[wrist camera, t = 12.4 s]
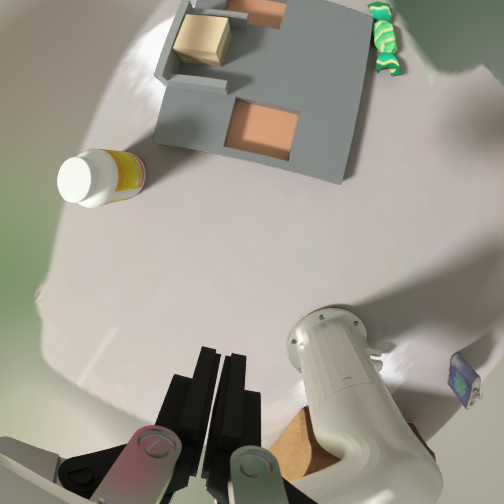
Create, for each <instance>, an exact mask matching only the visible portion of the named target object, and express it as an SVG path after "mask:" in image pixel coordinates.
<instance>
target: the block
mask: <svg viewBox="0 0 504 504" xmlns="http://www.w3.org/2000/svg"><path fill="white" fill-rule="evenodd" d="M230 39H231V31H230V26H229V21H228V18H224V17H215V16H204V15H190V14H186V16H185V19H184V21H183V24H182V26H181V29H180V31H179V34H178V36H177V39H176V42H175V44H174V47H173V49H174V50H175V51H176V53H177V54H178V56H179V57H180V58H181V60H182V61H183V63H192V64H200V65H208V66H215V67H221V66H222V63H223V60H224V57H225V54H226V51H227V48H228V45H229V42H230Z"/></svg>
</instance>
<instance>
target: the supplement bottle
mask: <svg viewBox="0 0 504 504" xmlns="http://www.w3.org/2000/svg"><path fill="white" fill-rule="evenodd" d="M145 177H146V172H145V167H144V164H143V162H142V161H141V159H140V158H139V157H138V156H136V155H135V154H133V153H130V152H124V151H114V150H104V149H89V150H86V151H84V152H82V153H81V154H79V155H78V156H77V157H72V158H69V159H68V160H66V162H64V163H63V165H62V166H61V168H60V170H59V173H58V179H57V181H58V189H59V191H60V194H61V195H62V197H63V198H64V199H65V200H67V201H68V202H72V203H76V202H77V203H79V204H80V205H82V206H84V207H88V208H94V207H99V206H102V205H106V204H110V203H114V202H118V201H122V200H127V199H130V198H132V197H134V196H135V195H137V194H138V193H139V192H140V190H141V189H142V187H143V185H144V182H145Z"/></svg>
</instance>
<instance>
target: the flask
mask: <svg viewBox="0 0 504 504" xmlns="http://www.w3.org/2000/svg"><path fill="white" fill-rule="evenodd" d="M449 372H450V374H449V379H448V383H447V384H448V385H449V386H450V387H451V389H452V390H453V391H454V393H455V394H456V396H457V397H458V398H459V400H460V401H461V403H462V404H463V406H464V407H465V408H466V409H470V408H471V407H473V405H474V404H475V401H476V400H477V401H479V399H480V397H481V399H482V397H483V396H480V394H479V390H480V382H481V380H480V379H481V378H480V376H479V375H478V374H477V373H476V372H475V371H474V370H473V369H472V367H471V366H470V365H469V364H468V363H467V362H466V361H465V360H464V359H463V357H461V355H460V354H458V353H457V354H456V353H455V354H454V355H452V358H451V359H450V368H449ZM482 395H483V394H482Z"/></svg>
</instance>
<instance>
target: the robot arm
mask: <svg viewBox="0 0 504 504" xmlns="http://www.w3.org/2000/svg"><path fill="white" fill-rule="evenodd" d="M320 315H322V316H320ZM293 339H294V340H293ZM287 353H288V358H289V360H290V363H291V364H292V366H293V367H294V368H295V369H296V370H297V371H298V372H300V373H301V374H302V376H303V381H304V386H305V391H306V396H307V401H308V406H309V411H310V416H311V422H312V426H313V431H314V435H315V437H316V439H317V441H318V443H319V444H320V445H321V447H322V448H324V449H325V450H326V451H327V452H329V453H330V454H332V455H334V456H336V457H338V458H340V459H342V460H340V461H339V462H337V463H335V464H333V465H331V466H329V467H326V468H325V469H323V470H320V471H318V472H315V473H313V474H310V475H307V476H304V477H302V478H299V479H296V480H293V481H290V482H288V481H287V480H286V479H285V478H283V477H282V475H281V471H280V467H279V463H278V461H277V459H276V457H275V456H274V455H273V454H272V453H271V452H269V451H268V450H266V449H264V448H261V394H260V392H254V391H249V390H244V389H245V373H246V356H244V355H239V354H234V353H232V355H231V357H230V356H225V360H224V364H223V368H222V372H221V377H220V381H219V385H218V389H217V393H216V397H215V402H214V406H213V411H212V417H211V422H210V428H209V433H208V439H207V445H206V451H205V456H204V463H203V468H202V474H201V478H204V479H207V480H206V486H207V491H208V492H209V493H210V494H211V495H212V496H213V497H214V498H215V499H214V504H435V503H436V502H437V501H438V499H439V497H440V495H441V492H442V488H443V478H442V474H441V472H440V469H439V467H438V465H437V463H436V462H435V460H434V459H433V457H432V456H431V454H430V453H429V452H428V451H427V449H426V448H425V447H424V445H423V444H422V443H421V442H420V440H419V439H418V438H417V437H416V435H415V434H414V433H413V431H412V430H411V428H410V427H409V425H408V424H407V422H406V421H405V419H404V417H403V416H402V414H401V412H400V410H399V409H398V407H397V405H396V403H395V402H394V400H393V398H392V396H391V394H390V392H389V391H388V389H387V387H386V385H385V383H384V381H383V379H382V378H381V376H380V374H379V371H381V369H382V366H383V363H382V361H381V360H374V359H371V358H370V356H376V357H380V356H381V354H382V349H381V348H371V347H370V346H369V345H368V343H367V332H366V329H365V326H364V324H363V323H362V321H361V320H360V319H359V318H358V317H357V316H356V315H355V314H354V313H352V312H350V311H348V310H345V309H340V308H326V309H321V310H318V311H315V312H313V313H311V314H309V315H307V316H306V317H304V318H303V319H302V320H301V321H299V323H298V324H297V325H296V326H295V327H294V328H293V330H292V332H291V333H290V336H289V338H288V343H287ZM369 355H370V356H369ZM220 358H221V354H217V353H216V349H212V348H208V347H203V346H202V348H201V351H200V355H199V358H198V361H197V365H196V368H195V371H194V375H193V378H188V377H184V376H181V375H177V374H174V376H173V378H172V381H171V383H170V386H169V389H168V391H167V394H166V396H165V399H164V402H163V404H162V407H161V410H160V412H159V415H158V418H157V420H156V423H155V425H151V426H145V427H142V428H140V429H138V430H137V432H136V433H135V434H134V435H133V436H132V438H131V439H130V441H129V442H128V443H127V444H124V445H121V446H117V447H113V448H110V449H106V450H102V451H98V452H94V453H90V454H85V455H81V456H76V457H72V458H69V459H65V458H61V457H60V456H59V455H58V454H56V453H53V452H49V451H46V450H43V449H40V448H37V447H34V446H32V445H29V444H26V443H24V442H21V441H18V440H16V439H13V438H11V437H6V436H5V437H0V504H171V502H172V500H173V498H174V496H175V493H176V491H178V490H180V489H182V488H184V487H187V486H188V481H189V476H194V477H196V474H197V470H198V466H199V462H200V457H201V453H202V449H203V445H204V440H205V436H206V431H207V427H208V421H209V416H210V411H211V405H212V400H213V395H214V389H215V384H216V379H217V373H218V368H219V363H220Z"/></svg>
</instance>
